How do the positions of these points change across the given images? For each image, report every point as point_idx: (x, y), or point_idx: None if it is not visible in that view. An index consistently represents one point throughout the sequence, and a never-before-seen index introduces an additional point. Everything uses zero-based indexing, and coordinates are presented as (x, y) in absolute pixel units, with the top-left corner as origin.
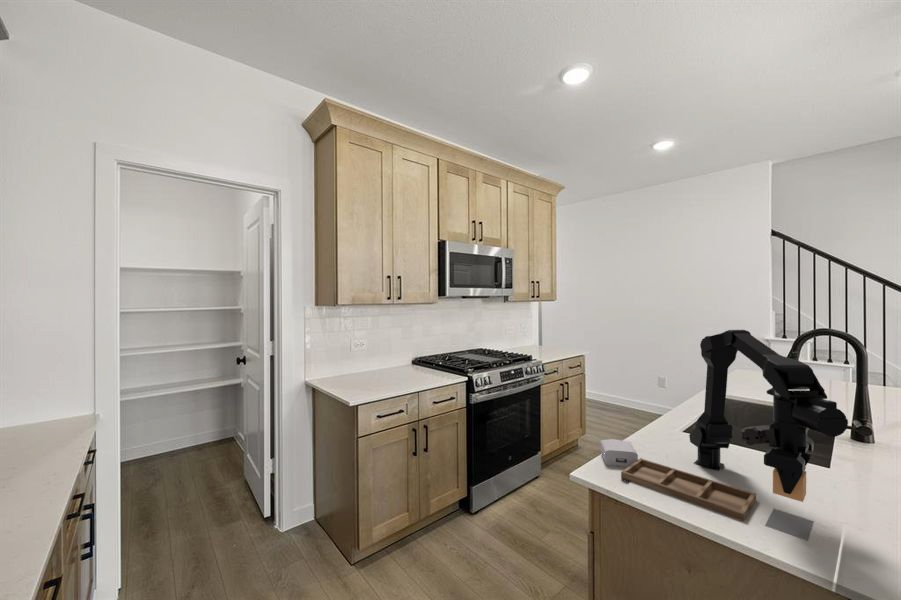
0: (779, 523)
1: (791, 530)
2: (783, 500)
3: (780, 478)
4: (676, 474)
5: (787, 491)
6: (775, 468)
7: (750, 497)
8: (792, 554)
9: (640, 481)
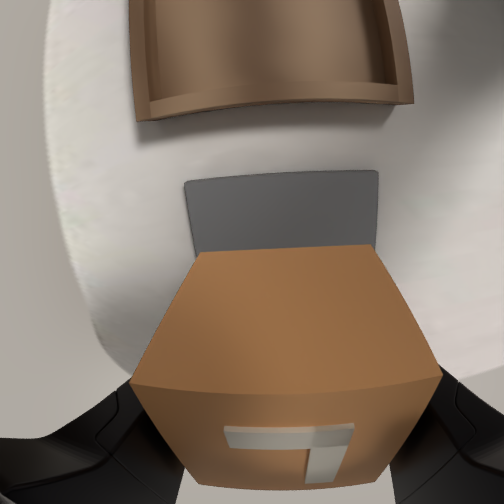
0: (250, 215)
1: None
2: (480, 187)
3: (116, 393)
4: None
5: None
6: (245, 400)
7: (350, 87)
8: (112, 271)
9: None
